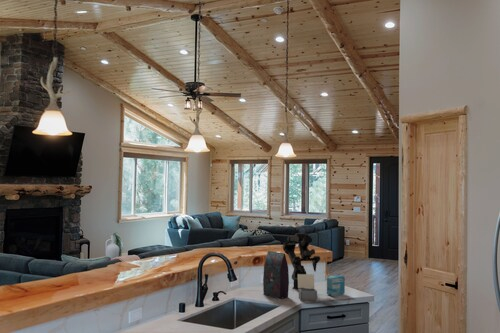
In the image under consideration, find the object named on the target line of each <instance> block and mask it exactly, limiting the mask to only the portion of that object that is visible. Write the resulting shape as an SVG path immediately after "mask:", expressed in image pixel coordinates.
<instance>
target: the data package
mask: <svg viewBox="0 0 500 333" xmlns="http://www.w3.org/2000/svg"><path fill="white" fill-rule="evenodd" d="M345 279H346V278H345V276H343V275H339V274H338V275H337V274H336V275H329V276H327V278H326V294H327V296H331V297H335V296H342V295H343V296H344V294H345V287H346V286H345V284H346V282H345Z"/></svg>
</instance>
